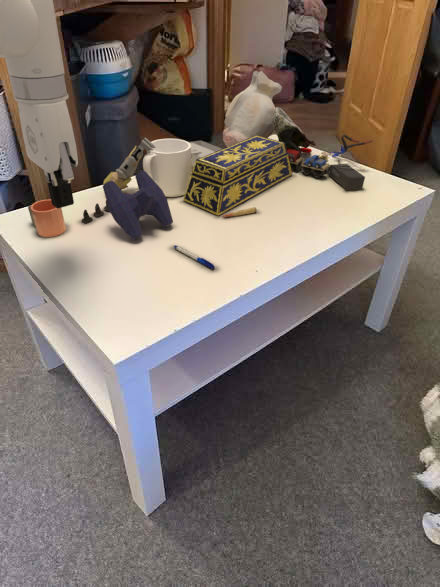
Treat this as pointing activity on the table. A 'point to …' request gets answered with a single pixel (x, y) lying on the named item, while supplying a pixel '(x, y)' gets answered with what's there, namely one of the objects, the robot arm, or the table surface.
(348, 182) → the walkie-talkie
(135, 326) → the table surface
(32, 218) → the stop block
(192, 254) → the ballpoint pen
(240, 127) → the crumpled bag
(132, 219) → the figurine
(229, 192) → the decorative box
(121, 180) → the toy
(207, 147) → the skate ramp
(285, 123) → the rock
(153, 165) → the mug
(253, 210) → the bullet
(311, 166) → the toy train
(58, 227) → the cup
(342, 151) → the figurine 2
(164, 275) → the table surface
